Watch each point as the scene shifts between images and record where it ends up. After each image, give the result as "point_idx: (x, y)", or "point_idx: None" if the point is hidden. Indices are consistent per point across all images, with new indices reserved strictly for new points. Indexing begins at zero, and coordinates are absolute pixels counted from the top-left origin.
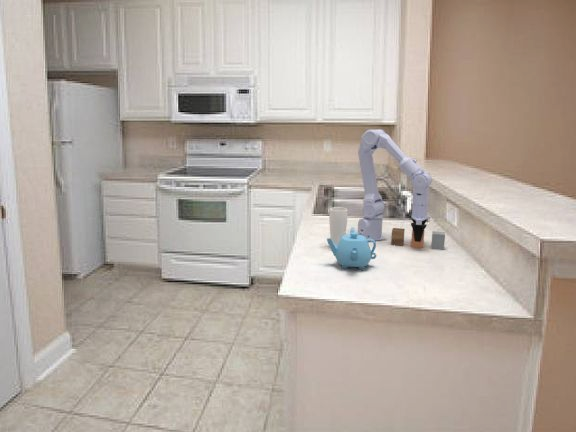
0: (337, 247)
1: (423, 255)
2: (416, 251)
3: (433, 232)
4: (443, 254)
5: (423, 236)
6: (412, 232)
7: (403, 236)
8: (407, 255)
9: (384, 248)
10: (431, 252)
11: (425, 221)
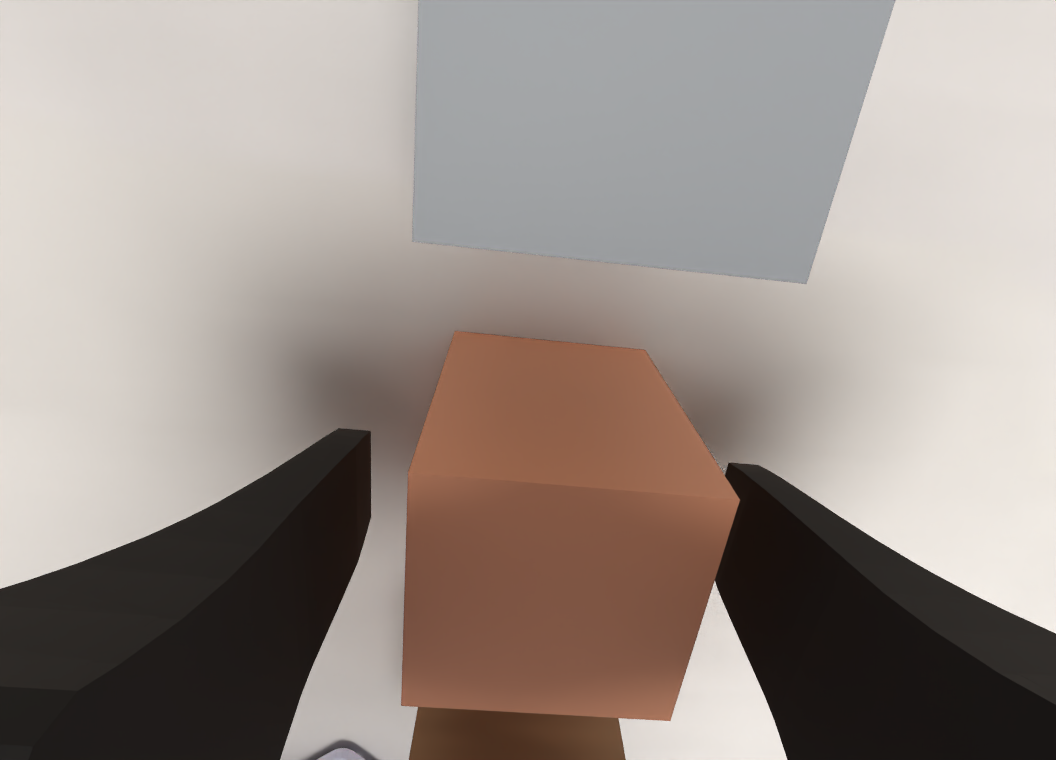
0: None
1: (1026, 375)
2: (826, 451)
3: (622, 232)
4: (1013, 24)
5: (702, 460)
6: (671, 706)
7: (617, 724)
8: (1000, 558)
9: (718, 746)
10: (879, 239)
11: (130, 682)
